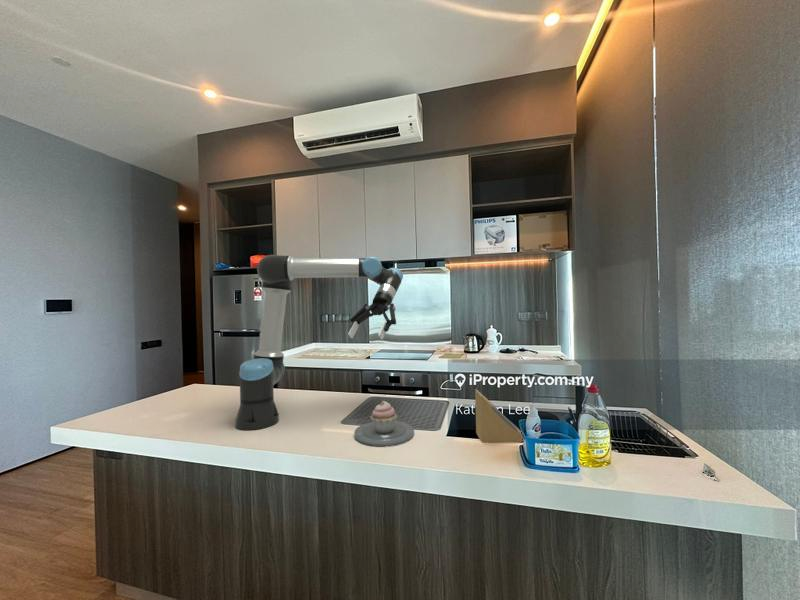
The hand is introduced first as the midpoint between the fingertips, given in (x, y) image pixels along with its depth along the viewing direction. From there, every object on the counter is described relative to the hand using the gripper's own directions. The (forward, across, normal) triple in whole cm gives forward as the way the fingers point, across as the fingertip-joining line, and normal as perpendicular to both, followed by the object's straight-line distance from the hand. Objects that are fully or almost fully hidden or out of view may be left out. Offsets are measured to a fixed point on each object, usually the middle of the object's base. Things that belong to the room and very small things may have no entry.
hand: (364, 336), depth 128 cm
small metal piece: (+21, -98, -24) cm, 103 cm away
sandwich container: (+19, -49, -27) cm, 59 cm away
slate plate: (+28, -13, -16) cm, 35 cm away
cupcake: (+28, -13, -16) cm, 34 cm away
